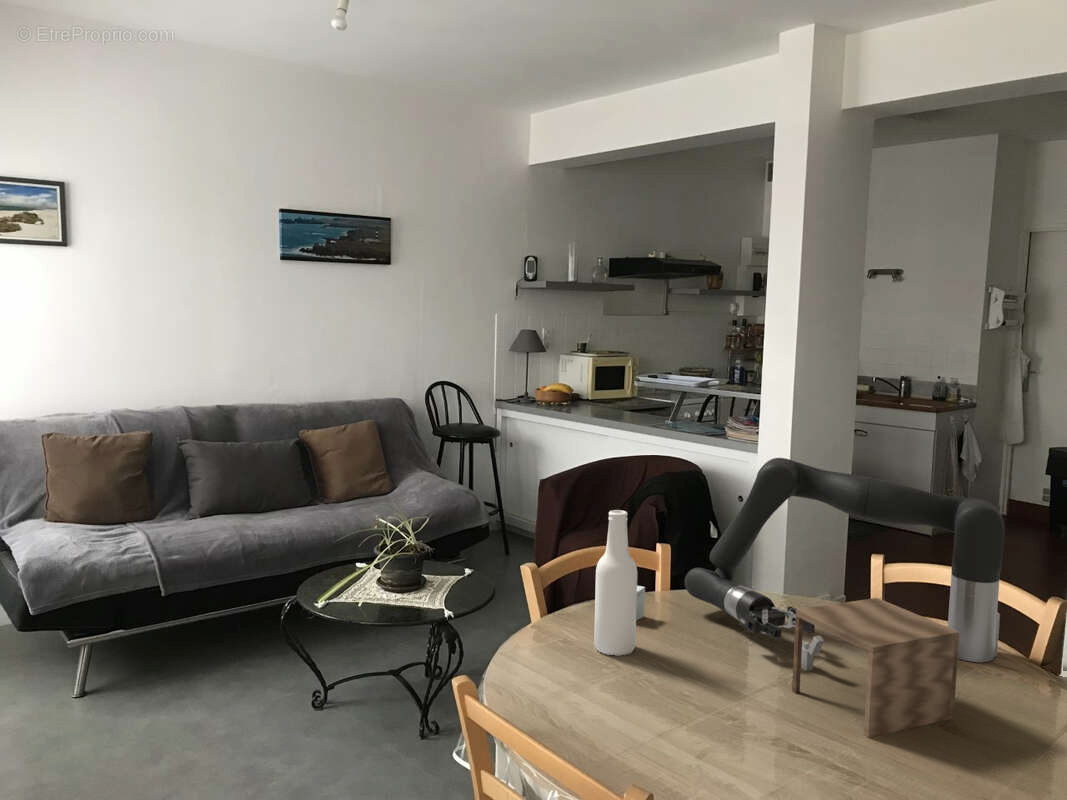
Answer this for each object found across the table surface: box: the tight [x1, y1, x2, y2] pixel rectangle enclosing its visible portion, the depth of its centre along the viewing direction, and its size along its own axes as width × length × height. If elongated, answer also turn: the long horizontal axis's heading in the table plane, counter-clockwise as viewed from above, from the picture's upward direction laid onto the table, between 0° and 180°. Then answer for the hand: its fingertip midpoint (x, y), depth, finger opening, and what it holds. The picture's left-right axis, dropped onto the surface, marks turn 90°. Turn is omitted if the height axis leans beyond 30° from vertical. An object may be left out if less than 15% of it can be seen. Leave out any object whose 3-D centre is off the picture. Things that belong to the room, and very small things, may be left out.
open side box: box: [791, 597, 959, 738], centre depth 168 cm, size 20×20×16 cm
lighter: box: [801, 635, 825, 672], centre depth 184 cm, size 7×2×8 cm, turn 21°
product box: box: [636, 585, 646, 621], centre depth 212 cm, size 6×6×7 cm
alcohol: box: [593, 509, 638, 657], centre depth 192 cm, size 9×9×30 cm
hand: (796, 631), depth 187 cm, fingers open, 8 cm apart
